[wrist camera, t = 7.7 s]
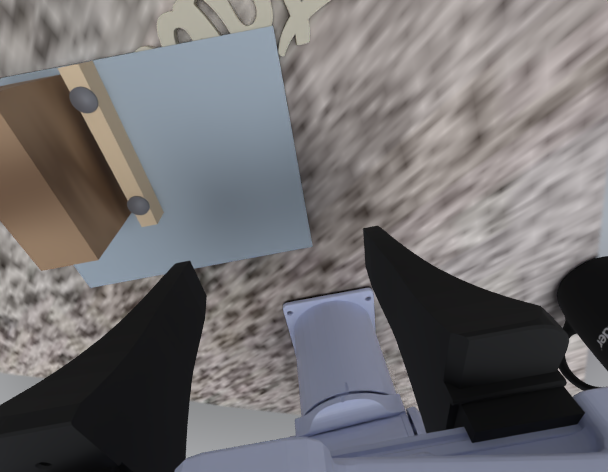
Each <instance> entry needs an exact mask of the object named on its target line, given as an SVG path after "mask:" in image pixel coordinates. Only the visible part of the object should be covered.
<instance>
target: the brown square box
mask: <svg viewBox="0 0 608 472" xmlns="http://www.w3.org/2000/svg"><path fill="white" fill-rule="evenodd" d="M69 94H70V91H69V89H68V87H67V85H66V84H65V82H64V80H63V78H62V76H61V74H60V75H55V76H49V77H44V78H39V79H34V80H29V81H23V82H18V83H13V84H8V85H4V86H0V221H1V222H2V223H3V225H4V226H5V227H6V228H7V229H8V231H9V232H10V233H11V234H12V236H13V237H14V238H15V239H16V240H17V242H18V243H19V244H20V245H21V247H22V248H23V249H24V250H25V251H26V253H27V254H28V255H29V256H30V258H31V259H32V260H33V261H34V262H35V264H36V265H37V266H38V267H39V269H40V270H41V271H43V270H48V269H54V268H59V267H64V266H70V265H75V264H80V263H86V262H91V261H96V260H99V259H100V257H101V256H102V254H103V253H104V252H105V250H106V249H107V247H108V246H109V244H110V243H111V242H112V240H113V239H114V237H115V236H116V234H117V233H118V232H119V230H120V229H121V227H122V226H123V224H124V223H125V221H126V220H127V219H128V217H129V216H130V214H131V213H132V212H130V210H129V209H128V207H127V202H128V200H127V198H126V196H125V195H124V193H123V191H122V189H121V187H120V185H119V183H118V181H117V179H116V178H115V176H114V174H113V172H112V170H111V168H110V166H109V164H108V163H107V161H106V159H105V157H104V155H103V153H102V151H101V149H100V148H99V146H98V144H97V142H96V140H95V138H94V136H93V134H92V132H91V131H90V129H89V127H88V125H87V123H86V121H85V119H84V117H83V116H82V114H81V112H80V111H78V110H77V109H76V108H75V107H74V106H73V105H72V104H71V102H70V98H69Z"/></svg>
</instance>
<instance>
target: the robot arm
mask: <svg viewBox="0 0 608 472" xmlns="http://www.w3.org/2000/svg"><path fill="white" fill-rule="evenodd" d="M363 234H364V249H365V264H366V269H367V273H368V276H369V279H370V282H371V285H372V288H373V290H374V292H375V295H376V297H377V299H378V301H379V303H380V305H381V308H382V310H383V312H384V314H385V316H386V318H387V320H388V323H389V325H390V327H391V329H392V331H393V334H394V336H395V338H396V341H397V344H398V347H399V350H400V352H401V355H402V358H403V361H404V364H405V367H406V370H407V373H408V376H409V379H410V382H411V385H412V388H413V392H414V395H415V398H416V401H417V404H418V408H419V411H418V410H417V409H416V408H415V407H410V408H407V409H406V411H407V414H406V411H405V409H404V406H403V403H402V400H401V397H400V394H396V391H395V388H394V385H393V383H392V380H391V377H390V374H389V371H388V368H387V365H386V362H385V359H384V356H383V354H382V351H381V348H380V345H379V342H378V339H377V336H376V332H375V313H374V293H373V291H372V289H371V288H363V289H358V290H353V291H347V292H342V293H336V294H331V295H325V296H320V297H315V298H309V299H304V300H298V301H293V302H287V303H285V304H284V305H283V311H284V315H285V318H286V322H287V325H288V329H289V332H290V336H291V339H292V343H293V347H294V350H295V354H296V358H297V369H298V381H299V392H300V404H301V415H302V417H300V418H297V419H295V429H296V436H290V437H289V438H282V439H277V440H271V441H265V442H260V443H255V444H248V445H243V446H238V447H232V448H226V449H220V450H215V451H210V452H204V453H200V454H197V455H195V456H191V457H188V458H187V459H185V458H186V438H187V424H188V412H189V401H190V392H191V383H192V376H193V370H194V365H195V360H196V356H197V352H198V347H199V343H200V338H201V334H202V329H203V325H204V320H205V311H206V294H205V292H204V290H203V287H202V285H201V283H200V281H199V279H198V277H197V274H196V272H195V270H194V268H193V266H192V264H191V261H185V262H180V263H175V264H174V265H173V266H172V267H171V268H170V269H169V271H168V272H167V273H166V274H165V275H164V276H163V277H162V278H161V279H160V281H159V282H158V283H157V284H156V285H155V286H154V287H153V288H152V289H151V291H150V292H149V293H148V294H147V295H146V296H145V297H144V298H143V299H142V300H141V301H140V302H139V303H138V304H137V305H136V306H135V307H134V308H133V309H132V310H131V311H130V312H129V313H128V314H127V315H126V317H124V318H123V319H122V320H121V321H120V322H119V323H118V324H117V325H116V326H115V327H114V328H112V329H111V330H110V331H109V332H108V333H107V334H105V335H104V336H103V337H102V338H101V339H100V340H98V341H97V342H96V343H94V344H93V345H92V346H90V347H89V348H88V349H87V350H85V351H84V352H83V353H81V354H80V355H79V356H77V357H76V358H75V359H73V360H72V361H70V362H69V363H68V364H66V365H65V366H63V367H62V368H60V369H59V370H57V371H56V372H54V373H53V374H51V375H50V376H48V377H47V378H45V379H44V380H42V381H41V382H39V383H37V384H36V385H34V386H32V387H31V388H29V389H27V390H25V391H24V392H22V393H20V394H19V395H17V396H15V397H13V398H12V399H10V400H8V401H7V402H5V403H3V404H1V405H0V472H608V387H602V388H596V389H590V390H586V391H582V392H579V393H578V394H576V395H574V396H573V397H572V396H571V395H570V394H569V392H568V391H567V390H566V389H565V387H564V386H565V385H566V383H567V382H566V379H565V378H564V377H563V376H562V375H561V373H560V372H559V371H558V370H557V369H558V367H559V365H560V363H561V361H562V359H563V357H564V355H565V353H566V351H567V347H568V344H569V338H568V334H567V333H566V332H565V331H564V330H563V328H562V327H561V326H560V325H559V324H558V323H557V322H556V321H555V320H554V319H553V317H552V316H550V315H549V314H548V313H547V312H546V311H545V310H544V309H543V308H542V307H541V306H538V305H535V304H531V303H527V302H524V301H520V300H516V299H513V298H509V297H506V296H503V295H500V294H497V293H494V292H491V291H488V290H485V289H483V288H480V287H477V286H475V285H472V284H470V283H468V282H465V281H463V280H461V279H458V278H456V277H454V276H452V275H450V274H448V273H446V272H444V271H442V270H440V269H438V268H437V267H435V266H433V265H431V264H430V263H428V262H426V261H425V260H423V259H422V258H420V257H419V256H417V255H416V254H414V253H413V252H411V251H410V250H409V249H407V248H406V247H404V246H403V245H402V244H400V243H399V242H398V241H397V240H395V239H394V238H393V237H392V236H390V235H389V234H388V233H387V232H385V231H384V230H383V229H382V228H380V227H379V226H373V227H368V228H363ZM366 297H368V298H366ZM288 311H291V312H288ZM407 416H408V417H407Z"/></svg>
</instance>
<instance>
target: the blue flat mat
mask: <svg viewBox="0 0 608 472" xmlns="http://www.w3.org/2000/svg"><path fill="white" fill-rule="evenodd" d="M60 74H61V76H62V78H63V80H64V82H65V84H66V85H67V87H68V89H69V91H70V94H69V98H70V102H71V104H72V105H73V106H74V107H75V108H76V109H77V110H78V111H80V112H81V114H82V116H83V117H84V119H85V121H86V123H87V125H88V127H89V129H90V131H91V132H92V134H93V136H94V138H95V140H96V142H97V144H98V146H99V148H100V149H101V151H102V153H103V155H104V157H105V159H106V161H107V163H108V164H109V166H110V168H111V170H112V172H113V174H114V176H115V178H116V179H117V181H118V183H119V185H120V187H121V189H122V191H123V193H124V195H125V196H126V198H127V200H128V202H127V207H128V209H129V210H130V212H132V213H131V214H130V216H129V217H128V219H127V220H126V221H125V223H124V224H123V226H122V227H121V229H120V230H119V232H118V233H117V234H116V236H115V237H114V239H113V240H112V242H111V243H110V244H109V246H108V247H107V249H106V250H105V252H104V253H103V254H102V256H101V257H100V259H99V260H96V261H91V262H86V263H80V264H75V265H74V266H75V268H76V269H77V270H78V272H79V273H80V274H81V276H82V277H83V279H84V280H85V281H86V283H87V284H88V285H89V287H90V288H92V287H98V286H103V285H108V284H114V283H119V282H124V281H130V280H135V279H141V278H146V277H151V276H157V275H162V274H166V273H167V272H168V271H169V269H170V268H171V267H172V266H173V265H174V264H175V263H180V262H185V261H191V264H192V266H193V268H200V267H205V266H211V265H216V264H221V263H227V262H232V261H238V260H243V259H248V258H254V257H259V256H265V255H270V254H275V253H281V252H286V251H291V250H297V249H302V248H308V247H313V246H312V240H311V235H310V229H309V224H308V218H307V213H306V207H305V201H304V196H303V190H302V185H301V179H300V174H299V168H298V162H297V157H296V151H295V146H294V140H293V134H292V129H291V123H290V118H289V112H288V107H287V101H286V95H285V90H284V84H283V79H282V73H281V68H280V62H279V56H278V51H277V45H276V40H275V34H274V29H273V25H272V26H269V27H263V28H258V29H253V30H248V31H243V32H238V33H232V34H226V35H221V36H217V37H212V38H207V39H201V40H196V41H190V42H185V43H179V44H176V45H170V46H165V47H159V48H154V49H150V50H145V51H139V52H133V53H128V54H123V55H117V56H112V57H107V58H102V59H97V60H92V61H86V62H81V63H76V64H71V65H66V66H60V67H55V68H50V69H45V70H40V71H35V72H29V73H24V74H19V75H14V76H9V77H4V78H0V86H4V85H8V84H13V83H18V82H23V81H29V80H34V79H39V78H44V77H49V76H55V75H60Z"/></svg>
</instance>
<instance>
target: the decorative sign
mask: <svg viewBox="0 0 608 472" xmlns="http://www.w3.org/2000/svg"><path fill="white" fill-rule="evenodd" d="M197 1H198V0H177V1H176V2H175V3H174V5H173V11H170V12H166V13H164V14H162V15H161V16H160V17H159V18H158V21H157V33H158V37H159V40H160V43H161V46H162V47H165V46H170V45H176V44H179V41H178V38H177V29H178V28H182V29H184V30H185V31H186V32H187V33H188V34H189V35H190V37H191V39H192V40H193V41H196V40H201V39H207V38H212V37H217V36H221V34H220V33H219V31H218V30H217V29H216V27H215V26H214V25H213V23H212V22H211V21H210V20H209V18H208V17H207V16H206V15H205V14H204V13H203V12H202V10H201V9H200V8H199V7H198V6H197V5H196V2H197ZM204 1H205V2H206V3H207V4H208V5H209V6H210V7H211V8H212V9H213V10H214V11H215V12H216V14H217V15H218V16H219V17H220V19H221V20H222V21H223V23H224V24H225V26H226V27H227V29H228V30H229V32H230V34H232V33H238V32H243V31H248V30H253V29H258V28H263V27H269V26H272V20H273V13H272V6H271V1H270V0H254V3H255V6H256V11H257V16H256V20H255V21H254V23H253V24H251V25H249V26H247V25H244V24H243V23H242V22H241V21H240V20H239V18H238V17H237V15H236V13H235V12H234V10H233V8H232V6H231V4H230V3H229V1H228V0H204ZM283 1H284V3H285V5H286V8H287V10H288V13H289V15H290V17H289V18H288V20H287V22H286V24H285V26H284V28H283V31H282V33H281V36H280V40H279V46H278V54H279V55H280V56H285V53H286V50H287V47H288V45H289V43H290V41H291V40H292V38H293V36H294V35H295V40H296V45H303V44H306V43H308V42H310V27H309V20H308V19H309V18H310V17H311V16H312V15H313V14H314V13H315V12H316V11H318V10H319V9H320V8H321V7H322V6H324V5H325V4H326V3H328V2H329V1H330V0H302V1H300V0H283ZM154 48H155V47H153V46H144V47H140V48H138V49H137V50H136V51H135V52H139V51H145V50H150V49H154Z"/></svg>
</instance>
